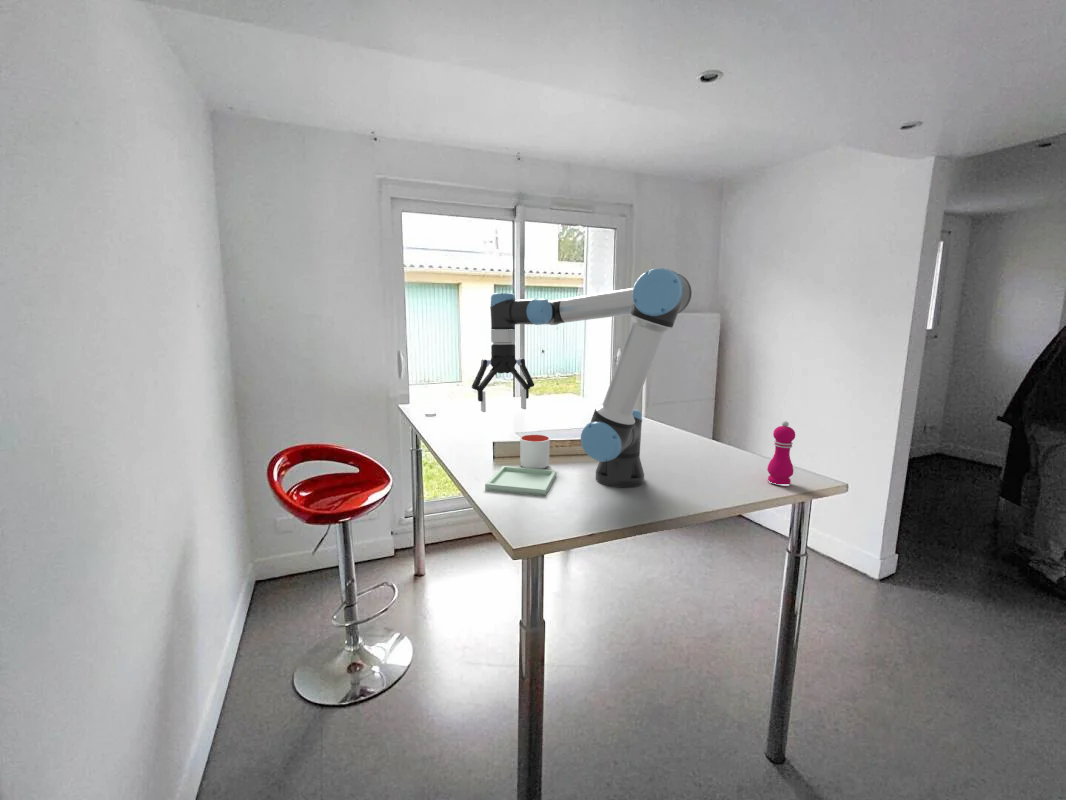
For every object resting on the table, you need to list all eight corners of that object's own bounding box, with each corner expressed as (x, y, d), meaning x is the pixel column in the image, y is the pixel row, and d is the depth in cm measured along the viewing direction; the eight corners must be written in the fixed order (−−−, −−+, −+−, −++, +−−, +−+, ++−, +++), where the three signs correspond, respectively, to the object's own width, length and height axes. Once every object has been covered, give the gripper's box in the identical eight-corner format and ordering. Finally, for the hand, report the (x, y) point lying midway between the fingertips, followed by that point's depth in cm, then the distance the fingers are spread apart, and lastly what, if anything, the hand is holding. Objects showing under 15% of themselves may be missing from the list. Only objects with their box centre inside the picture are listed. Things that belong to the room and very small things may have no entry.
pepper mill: (794, 483, 146) (801, 421, 143) (788, 489, 141) (795, 425, 138) (770, 478, 151) (776, 417, 148) (762, 483, 146) (769, 421, 143)
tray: (556, 475, 150) (556, 470, 149) (545, 495, 132) (545, 489, 132) (502, 471, 154) (502, 465, 153) (485, 489, 136) (485, 483, 136)
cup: (554, 465, 161) (555, 437, 159) (539, 472, 153) (539, 443, 151) (530, 460, 166) (530, 433, 164) (514, 467, 158) (514, 438, 156)
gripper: (535, 342, 154) (535, 405, 157) (461, 343, 145) (462, 410, 148) (544, 343, 147) (544, 409, 150) (467, 344, 138) (468, 414, 141)
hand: (503, 410), depth 149 cm, fingers open, 13 cm apart
